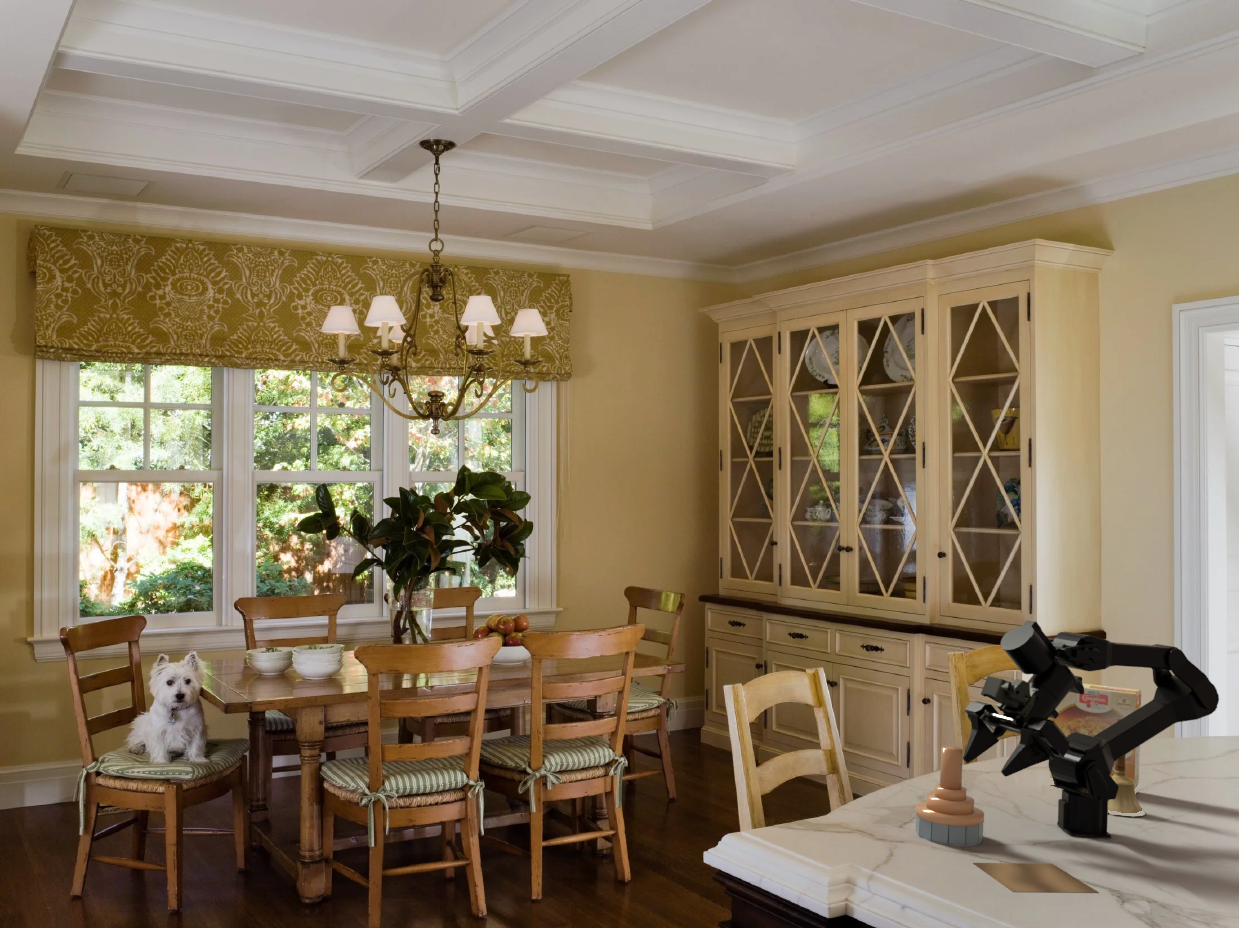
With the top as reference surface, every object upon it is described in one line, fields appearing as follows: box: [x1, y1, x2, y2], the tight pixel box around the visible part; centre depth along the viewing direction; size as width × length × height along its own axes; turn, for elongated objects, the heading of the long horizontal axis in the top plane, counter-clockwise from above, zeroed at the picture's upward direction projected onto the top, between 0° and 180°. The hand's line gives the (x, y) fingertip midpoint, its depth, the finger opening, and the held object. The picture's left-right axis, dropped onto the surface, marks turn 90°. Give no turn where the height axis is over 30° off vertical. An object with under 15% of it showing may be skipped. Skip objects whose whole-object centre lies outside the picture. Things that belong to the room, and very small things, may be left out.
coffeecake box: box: [1049, 682, 1142, 790], centre depth 208 cm, size 15×7×20 cm, turn 58°
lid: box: [915, 745, 985, 826], centre depth 168 cm, size 10×10×10 cm
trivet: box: [972, 862, 1100, 894], centre depth 149 cm, size 12×12×1 cm
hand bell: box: [1108, 719, 1143, 813], centre depth 191 cm, size 8×8×16 cm
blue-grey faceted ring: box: [915, 815, 984, 847], centre depth 167 cm, size 10×10×4 cm
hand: (983, 767), depth 170 cm, fingers open, 9 cm apart
